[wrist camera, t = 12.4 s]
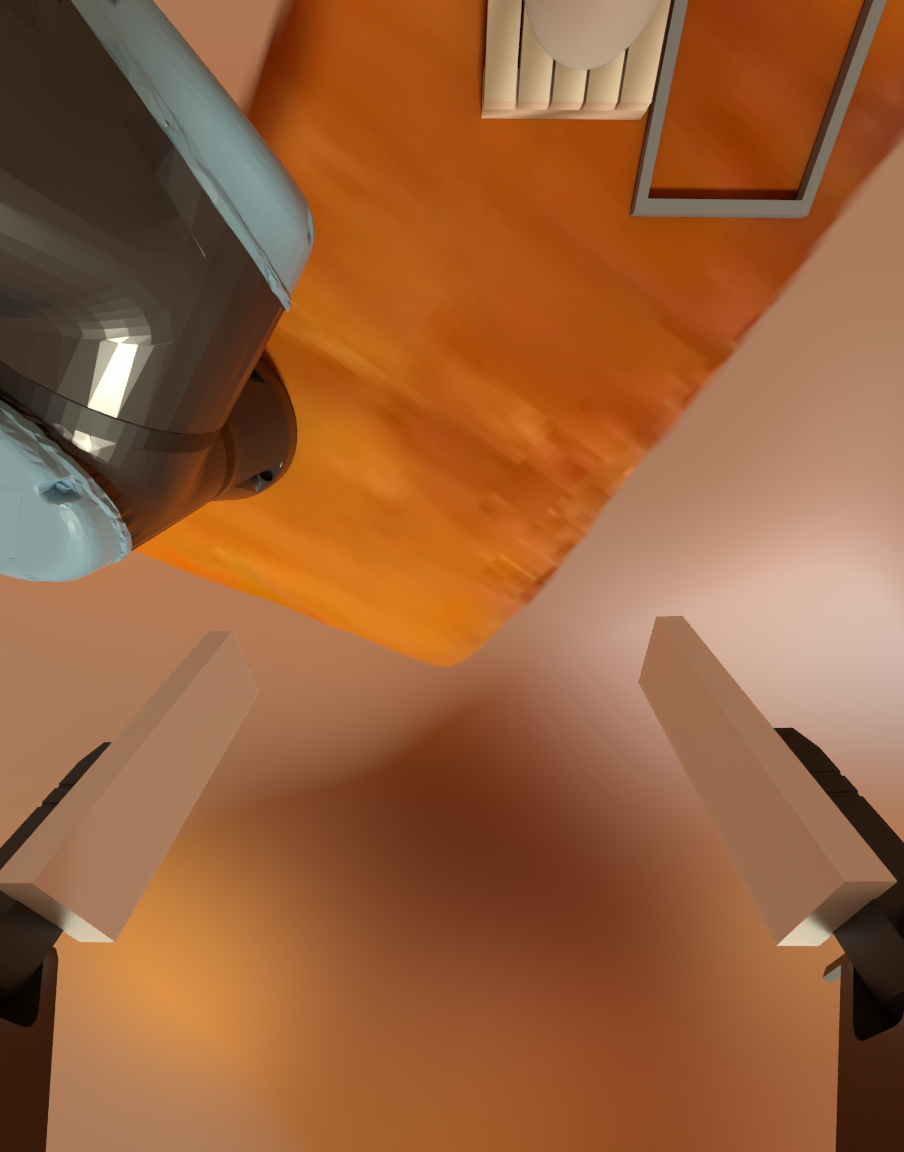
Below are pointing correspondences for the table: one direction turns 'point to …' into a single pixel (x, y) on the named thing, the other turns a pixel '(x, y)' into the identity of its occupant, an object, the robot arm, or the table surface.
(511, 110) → the rack
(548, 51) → the mug
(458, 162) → the table surface
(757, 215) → the socket frame
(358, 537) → the table surface
